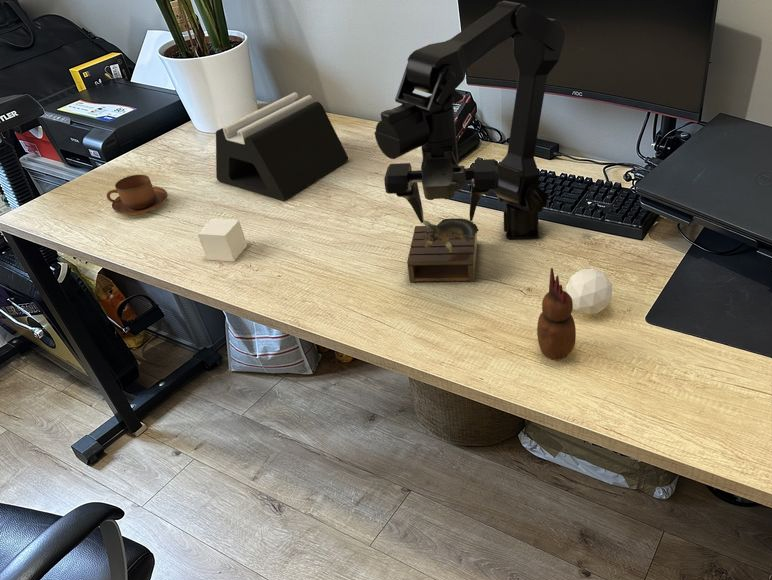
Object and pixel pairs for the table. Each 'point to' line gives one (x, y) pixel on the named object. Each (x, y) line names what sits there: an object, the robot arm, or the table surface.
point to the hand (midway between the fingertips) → (446, 220)
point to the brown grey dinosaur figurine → (449, 231)
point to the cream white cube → (222, 239)
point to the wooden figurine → (556, 322)
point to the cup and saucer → (136, 195)
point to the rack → (441, 258)
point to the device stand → (278, 148)
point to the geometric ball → (589, 291)
